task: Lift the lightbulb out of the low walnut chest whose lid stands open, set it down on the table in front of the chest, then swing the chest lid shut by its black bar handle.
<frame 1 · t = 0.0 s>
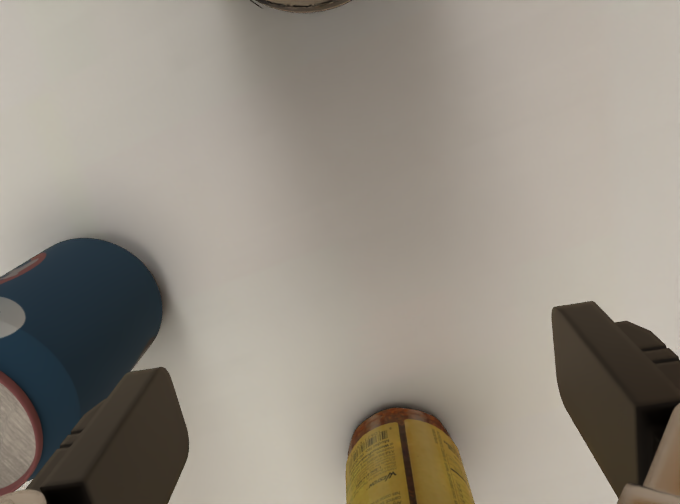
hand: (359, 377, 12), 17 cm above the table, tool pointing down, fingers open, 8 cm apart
soda can: (106, 292, 31), on the table
sauce bottle: (404, 445, 33), on the table
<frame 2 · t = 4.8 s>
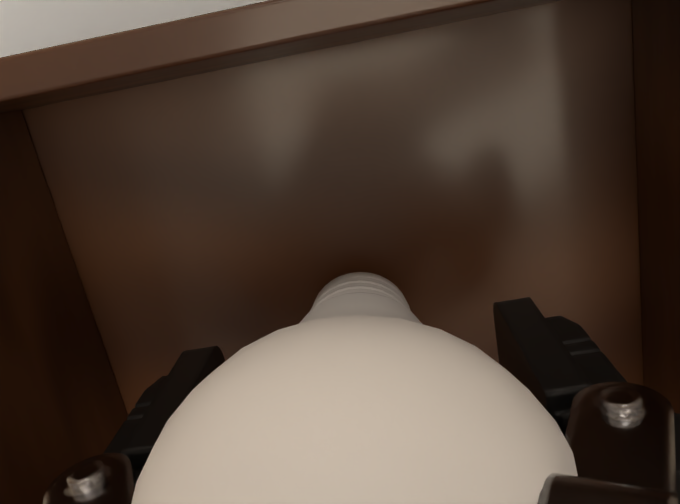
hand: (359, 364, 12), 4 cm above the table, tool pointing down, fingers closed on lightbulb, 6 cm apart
chest: (369, 344, 16), on the table
lightbulb: (360, 302, 16), resting on chest, touching gripper
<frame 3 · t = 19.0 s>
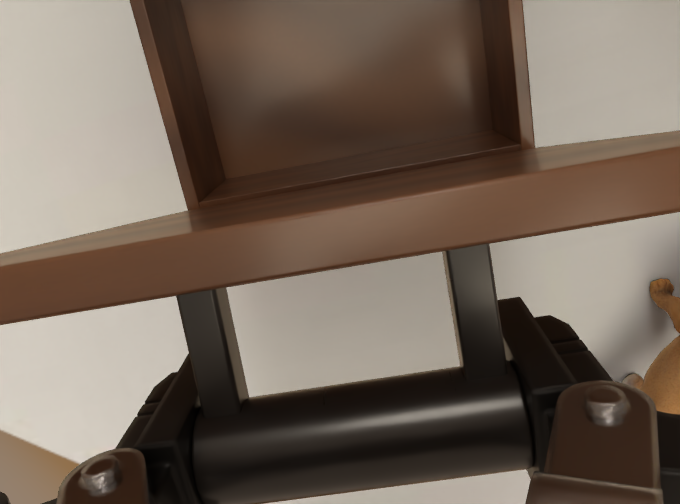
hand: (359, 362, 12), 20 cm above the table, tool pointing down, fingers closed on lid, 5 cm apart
lid: (358, 273, 17), point 16 cm above the table, hinge at 80.0°, touching gripper
lion figurine: (638, 325, 34), on the table
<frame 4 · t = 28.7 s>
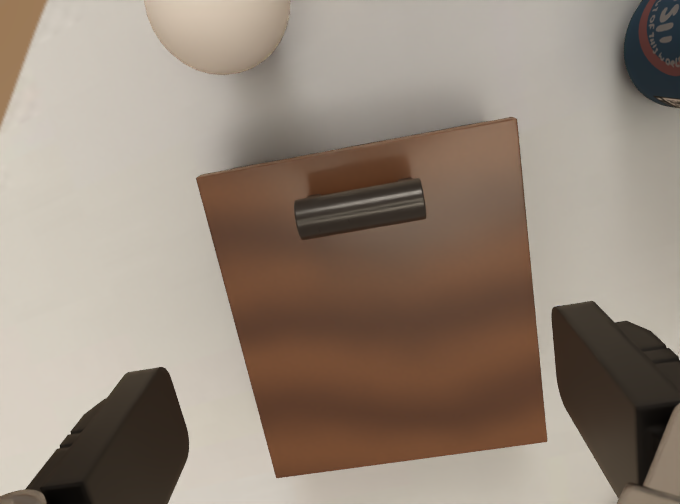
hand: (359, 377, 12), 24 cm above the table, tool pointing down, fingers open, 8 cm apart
lightbulb: (252, 14, 32), on the table
lid: (384, 333, 29), point 9 cm above the table, hinge at -0.2°, touching chest
soda can: (676, 41, 32), on the table
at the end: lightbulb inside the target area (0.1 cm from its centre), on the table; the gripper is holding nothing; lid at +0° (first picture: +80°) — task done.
